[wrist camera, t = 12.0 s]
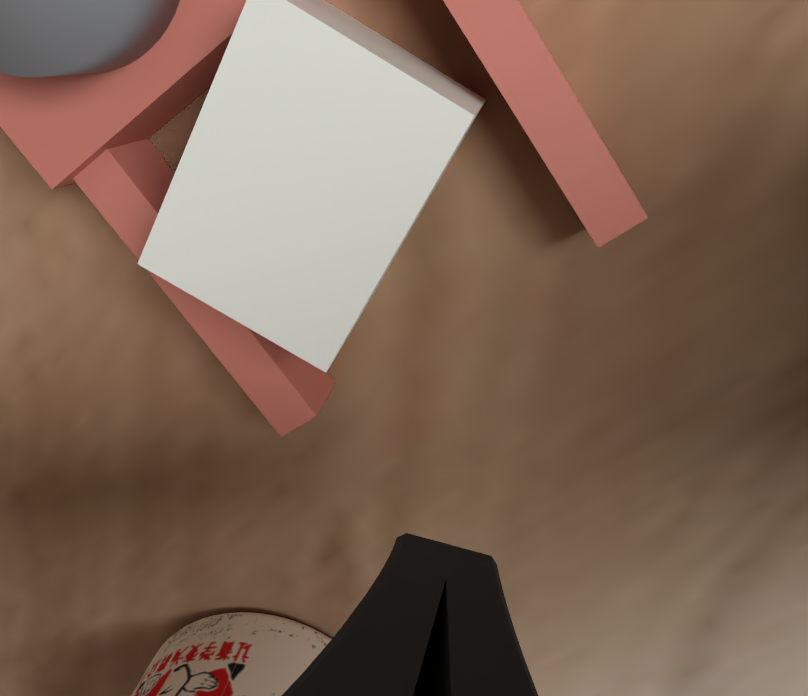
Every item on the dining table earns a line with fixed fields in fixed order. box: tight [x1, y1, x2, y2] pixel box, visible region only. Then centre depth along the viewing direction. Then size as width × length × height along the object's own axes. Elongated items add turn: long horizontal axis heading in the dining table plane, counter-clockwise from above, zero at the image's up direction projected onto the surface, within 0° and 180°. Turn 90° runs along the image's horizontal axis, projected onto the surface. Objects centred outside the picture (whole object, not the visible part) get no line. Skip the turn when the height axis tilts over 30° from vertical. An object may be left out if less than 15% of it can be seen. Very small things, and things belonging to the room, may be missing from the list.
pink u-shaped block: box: [0, 0, 648, 437], centre depth 15 cm, size 14×11×4 cm
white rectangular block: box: [138, 0, 486, 372], centre depth 16 cm, size 4×6×4 cm
